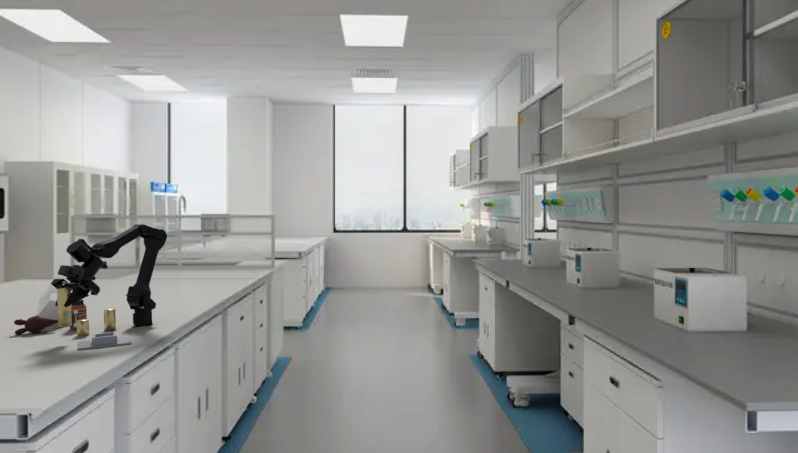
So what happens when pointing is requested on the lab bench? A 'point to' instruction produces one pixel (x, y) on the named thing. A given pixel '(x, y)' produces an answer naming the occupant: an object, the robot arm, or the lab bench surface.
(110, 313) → the pin mid
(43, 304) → the slotted wedge
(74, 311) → the supplement bottle
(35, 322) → the icecream
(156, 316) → the lab bench surface
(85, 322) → the pin short
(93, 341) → the gauge plate
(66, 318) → the pin long
